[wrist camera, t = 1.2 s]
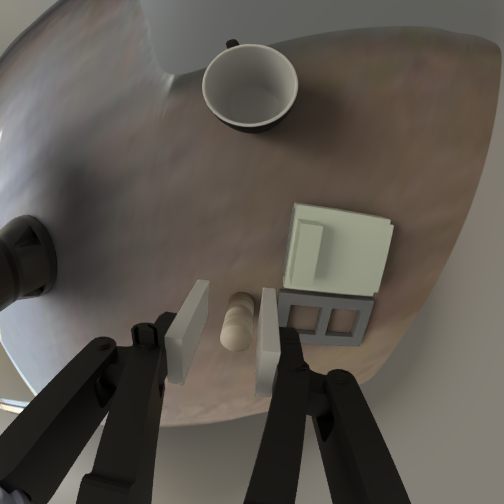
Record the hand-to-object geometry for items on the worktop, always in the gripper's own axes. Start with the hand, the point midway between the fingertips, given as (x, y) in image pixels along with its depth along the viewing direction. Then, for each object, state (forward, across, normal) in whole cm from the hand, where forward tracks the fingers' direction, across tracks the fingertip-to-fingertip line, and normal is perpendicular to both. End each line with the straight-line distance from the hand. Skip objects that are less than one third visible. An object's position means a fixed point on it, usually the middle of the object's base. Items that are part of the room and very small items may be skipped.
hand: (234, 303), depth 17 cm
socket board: (+20, +12, -11) cm, 25 cm away
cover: (+18, +11, 0) cm, 21 cm away
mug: (+20, -2, +18) cm, 27 cm away
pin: (+20, 0, -10) cm, 22 cm away
